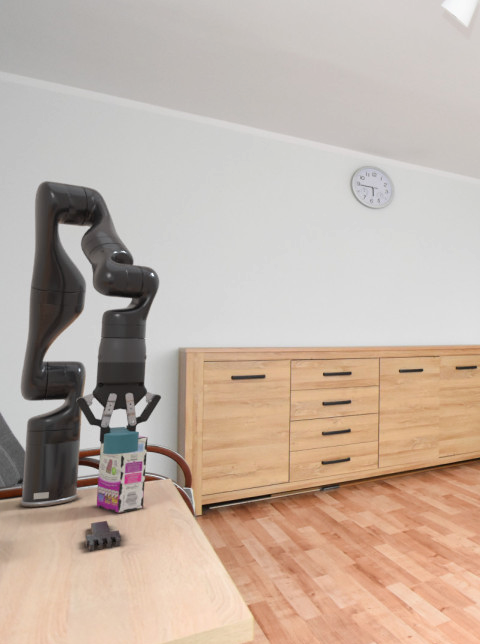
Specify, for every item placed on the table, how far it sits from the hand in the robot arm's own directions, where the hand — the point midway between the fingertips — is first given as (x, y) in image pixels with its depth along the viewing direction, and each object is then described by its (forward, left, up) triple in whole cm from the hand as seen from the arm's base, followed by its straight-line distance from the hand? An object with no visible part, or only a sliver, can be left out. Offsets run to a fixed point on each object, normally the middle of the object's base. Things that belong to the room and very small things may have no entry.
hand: (117, 444), depth 114 cm
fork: (+5, -2, -17) cm, 18 cm away
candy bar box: (-19, +3, -18) cm, 26 cm away
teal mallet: (+3, 0, -1) cm, 3 cm away
